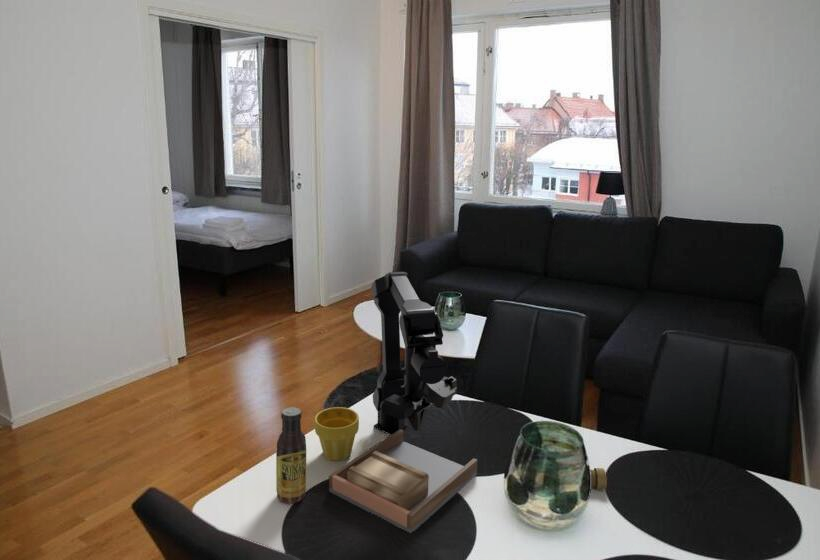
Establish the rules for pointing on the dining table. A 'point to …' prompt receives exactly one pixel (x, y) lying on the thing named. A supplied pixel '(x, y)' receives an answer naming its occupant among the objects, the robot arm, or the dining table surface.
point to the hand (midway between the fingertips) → (416, 430)
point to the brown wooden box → (390, 479)
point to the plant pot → (336, 431)
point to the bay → (441, 471)
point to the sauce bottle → (291, 458)
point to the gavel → (598, 478)
